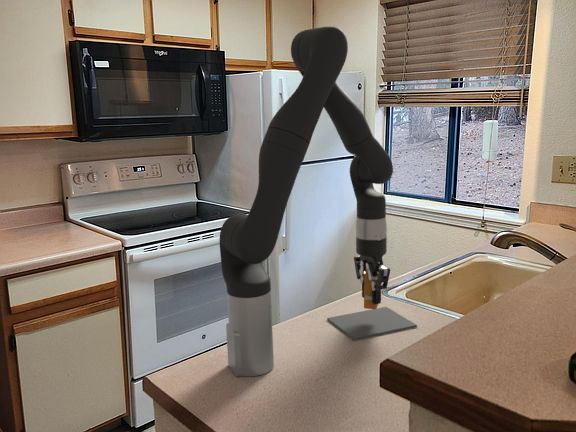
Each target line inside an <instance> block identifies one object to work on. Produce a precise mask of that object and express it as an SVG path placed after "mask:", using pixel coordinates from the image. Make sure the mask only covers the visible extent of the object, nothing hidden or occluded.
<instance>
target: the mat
mask: <svg viewBox="0 0 576 432" xmlns="http://www.w3.org/2000/svg"><path fill="white" fill-rule="evenodd" d="M327 322H329V323H331V325H333V326H334V327H335V328H336V329H338V330H339V331H340V332H341V333H343V334H344V335H346V336H347V337H348V338H349V339H351V340H352V341H359V340H362V339H368V338H373V337H376V336H382V335H388V334H391V333H396V332H401V331H406V330H410V329H411V330H412V329H415V328H418V325H417V324H416V323H414V322H413V321H412V320H409V319H408V318H406V317H404V316H403V315H401V314H399V313H398V312H396V311H394V310H392V309H391V308H389V307H388V306H383V307H377V309H366V310H362V311H357V312H352V313H351V312H350V313H346V314H342V315H336V316H329V317H327Z"/></svg>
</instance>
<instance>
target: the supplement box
mask: <svg viewBox="0 0 576 432" xmlns="http://www.w3.org/2000/svg"><path fill="white" fill-rule="evenodd" d="M373 277H378V275H375V276H373ZM376 283H377V280H376V281H375V284H376ZM378 306H379V304H373V303H372V285H371V281H369V277H368V270H366V271H365V285H364V298H363V308H364V309H365V310H372V309H377V308H378Z"/></svg>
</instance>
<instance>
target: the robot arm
mask: <svg viewBox="0 0 576 432" xmlns="http://www.w3.org/2000/svg"><path fill="white" fill-rule="evenodd" d="M348 44H349V43H348V39H347V36H346V34H345V32H344V31H343V30H342V29H340V28H339V27H337V26H321V27H315V28H308V29H305V30H301V31H299V32H298V33H297V34H296V35H294V38H293V39H292V41H291V46H290V55H291V58H292V62H293V64H294V66H295V67H296V69H297V70H298V72H299V73H300V75H301V77H302V78H301V81H300V83H299V84H298V86H297V87H296V89H295V91H294V92H293V93H292V94H291V95H290V96H289V98H288V99H287V100H286V101H285V102H284V104H282V106H281V107H280V108H279V109H278V110H277V112H275V114H274V116H273V117H272V119H271V120H270V122H269V125H268V127H267V129H266V132H265V134H264V137H263V141H262V143H261V146H260V149H259V152H258V153H259V154H258V185H257V190H256V195H255V197H254V200H253V203H252V204H251V205H252V206H251V208H250V210H249V212H248V214H246V213H235V214H233V215H231V216H229V217H228V218H227V219H226V220H224V222H223V224H222V225H221V228H220V232H219V253H220V254H219V255H220V263H221V265H220V266H221V273H222V278H223V280H224V282H225V285H226V296H227V297H226V298H227V316H228V323H226V324H225V326H226V327H225V329H226V346H227V347H226V348H227V363H228V364H227V365H228V367H229V369H230V370H231V371H232V373H233V374H234V376H235V377H242V376H243V377H257V376H262V375H265V374H267V373H269V372H270V371H272V370H273V368H274V366H275V365H274V364H275V363H274V360H275V357H274V356H275V355H274V340H273V339H274V335H273V334H274V332H273V313H272V312H273V311H272V309H273V307H272V284H271V277H270V275H269V274H268V272H267V271H266V270H265V268H264V266H263V264H262V262H264V261H266V260H268V258H269V257H270V256H271V254H272V253H273V251H274V249H275V247H276V244H277V242H278V238H279V234H280V230H281V228H282V224H283V223H282V222H283V220H284V215H285V212H286V209H287V206H288V203H289V199H290V196H291V194H292V191H293V187H294V185H295V183H296V180H297V178H298V177H297V176H298V174H299V172H300V169H301V167H302V165H303V162H304V159H305V156H306V154H307V151H308V149H309V146H310V143H311V140H312V138H313V134H314V132H315V129H316V127H317V124H318V122H319V120H320V117H321V115H322V113H323V110H325V112H326V113H327V115H328V116H329V118H330V120H331V122H332V123H333V126H334V127H335V130H336V132H337V134H338V136H339V139H340V140H341V142H342V144H343V146H344V148H345V150H346V151H347V152H348V153H349V154H351V155H354V156H353V158H352V160H351V162H350V164H349V177H350V182H351V185H352V189H353V192H354V195H355V200H356V223H355V252H356V254H357V256H354V257H353V261H354V267H355V275H356V279H357V280H360V281H359V282H360V284H361V297H362V298H363V299H364V285H365V271H366V270H368V277H369V281H371V285H372V303H373V304H378V305H379V304H381V302H382V290H386V289H388V284H389V280H390V279H389V278H390V273H391V269H390V267H385V266H384V261H383V257H384V256H385V255H386V254H387V243H388V239H387V238H388V234H387V233H388V227H387V226H388V225H387V217H386V215H387V214H386V213H387V209H386V208H387V207H386V205H387V203H386V202H387V201H386V200H387V199H386V197H385V195H384V194H382V193H381V192H380V191H379V192H378V191H377V190H376V189H375V187H374V184H375V185H382V184H383V185H384V184H386V183H388V182H389V181H390V180H391V178H392V177H393V173H394V172H393V171H394V166H393V162H392V159H391V156H389V154H388V152H387V151H386V150H385V149H384V148H383V146H382V145H381V143H380V142H379V141H378V140H377V138H375V137H374V135H373V132H372V130H371V128H370V125H369V123H368V121H367V119H366V116H364V113H363V111H362V109H361V108H360V107H359V106H358V105H357V104H356V102H355V101H354V100H353V99H352V98H351V97H350V96H349V95H348V94H347V93H346V92H345V91H344V90H343V89H342V87H341V86H340V85H339V83H338V82H337V80H338V78H339V75H340V74H341V72H342V71H343V68H344V66H345V63H346V61H347V55H348V50H349V49H348V47H349V46H348ZM375 275H378V277H373V276H375ZM376 280H377V283H376V284H375V281H376Z"/></svg>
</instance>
